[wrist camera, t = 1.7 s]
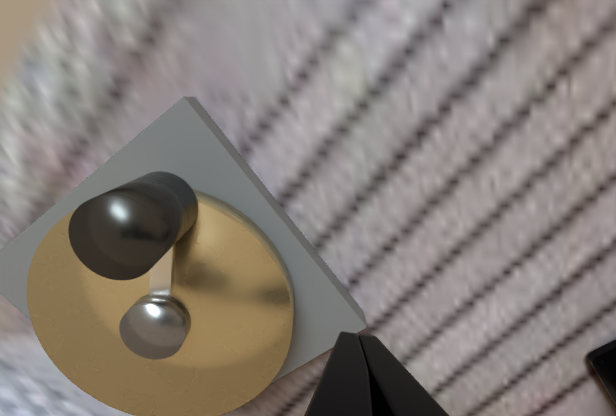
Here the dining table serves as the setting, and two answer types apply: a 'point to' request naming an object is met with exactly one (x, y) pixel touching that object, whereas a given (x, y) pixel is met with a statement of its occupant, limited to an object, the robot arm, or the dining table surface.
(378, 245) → the dining table surface
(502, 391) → the dining table surface
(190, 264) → the handwheel
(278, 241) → the base plate
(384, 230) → the dining table surface
